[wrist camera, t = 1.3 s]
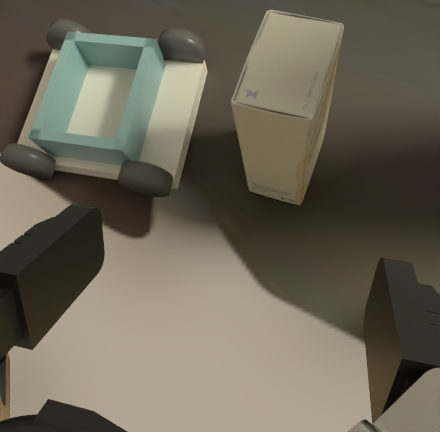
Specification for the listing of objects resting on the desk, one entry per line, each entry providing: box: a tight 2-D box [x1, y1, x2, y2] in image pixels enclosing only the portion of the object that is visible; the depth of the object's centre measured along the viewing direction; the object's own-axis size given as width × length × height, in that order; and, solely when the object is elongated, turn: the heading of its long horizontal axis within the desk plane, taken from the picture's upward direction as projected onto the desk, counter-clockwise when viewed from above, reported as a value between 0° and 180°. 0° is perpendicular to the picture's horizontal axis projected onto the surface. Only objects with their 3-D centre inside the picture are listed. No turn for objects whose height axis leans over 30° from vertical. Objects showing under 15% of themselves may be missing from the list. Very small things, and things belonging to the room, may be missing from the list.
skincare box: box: [231, 10, 344, 205], centre depth 27 cm, size 6×4×12 cm
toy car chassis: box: [0, 19, 207, 197], centre depth 34 cm, size 14×13×4 cm
